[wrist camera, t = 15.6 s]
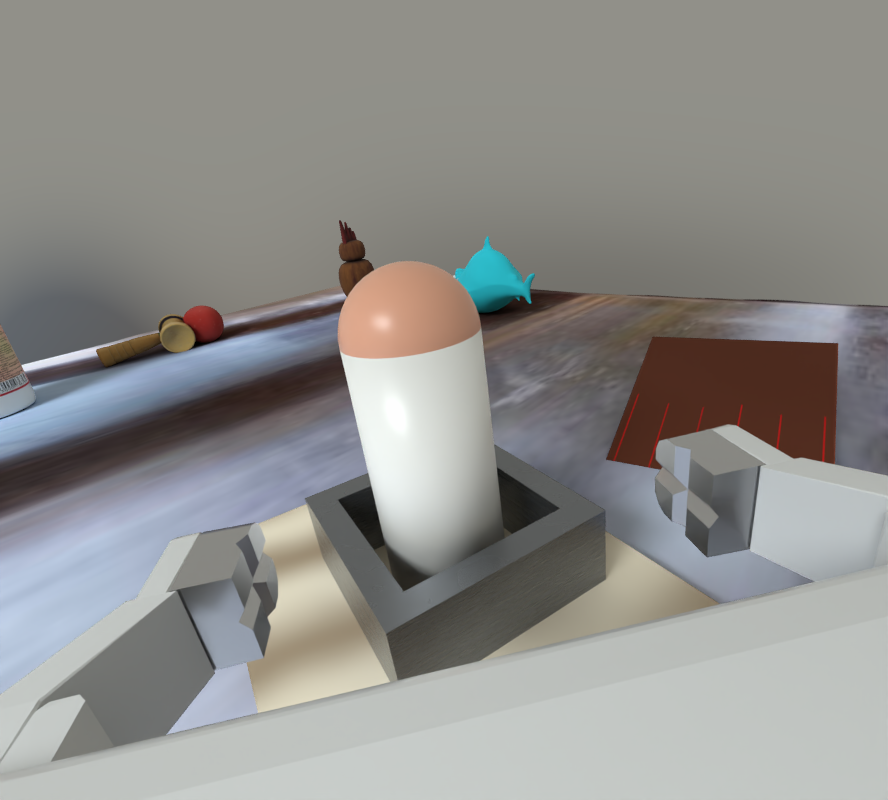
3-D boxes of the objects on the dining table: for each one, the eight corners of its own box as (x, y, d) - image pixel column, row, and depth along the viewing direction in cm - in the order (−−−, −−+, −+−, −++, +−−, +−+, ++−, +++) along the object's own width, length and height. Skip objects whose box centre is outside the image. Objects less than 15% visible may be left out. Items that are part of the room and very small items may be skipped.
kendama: (110, 382, 70) (232, 334, 77) (86, 341, 68) (212, 296, 75) (116, 378, 77) (228, 334, 84) (94, 341, 75) (210, 299, 82)
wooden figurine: (356, 304, 91) (338, 220, 85) (339, 303, 95) (321, 222, 89) (384, 296, 95) (369, 215, 90) (367, 295, 99) (352, 218, 94)
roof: (680, 347, 48) (682, 299, 46) (822, 353, 42) (831, 298, 40) (605, 467, 30) (604, 397, 29) (832, 510, 24) (850, 424, 22)
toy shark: (485, 300, 79) (478, 231, 75) (565, 313, 64) (561, 228, 60) (434, 314, 75) (423, 242, 70) (507, 331, 60) (499, 242, 56)
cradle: (322, 557, 24) (304, 498, 22) (479, 485, 28) (472, 431, 26) (405, 709, 16) (385, 633, 15) (606, 579, 20) (605, 510, 19)
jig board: (224, 554, 27) (218, 539, 26) (465, 452, 34) (463, 440, 33) (378, 1206, 9) (367, 1190, 8) (834, 702, 15) (840, 680, 15)
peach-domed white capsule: (370, 582, 22) (292, 278, 17) (442, 519, 25) (397, 252, 20) (460, 634, 19) (399, 277, 13) (529, 553, 22) (502, 246, 17)
